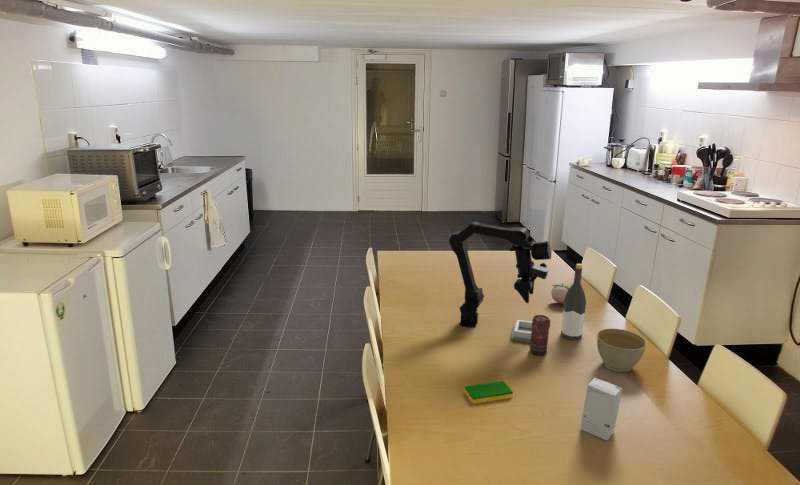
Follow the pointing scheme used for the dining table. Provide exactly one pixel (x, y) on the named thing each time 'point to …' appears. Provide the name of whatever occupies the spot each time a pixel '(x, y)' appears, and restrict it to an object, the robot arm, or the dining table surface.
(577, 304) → the wine bottle
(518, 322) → the tray
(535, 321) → the can
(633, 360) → the planter bowl
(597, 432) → the skincare box
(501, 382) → the dish sponge
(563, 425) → the dining table surface
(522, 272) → the robot arm
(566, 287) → the decorative fruit
